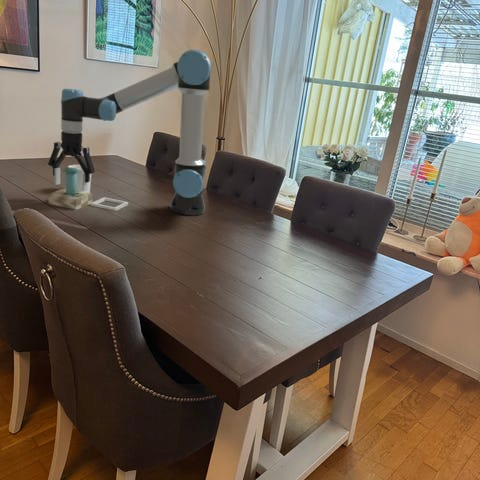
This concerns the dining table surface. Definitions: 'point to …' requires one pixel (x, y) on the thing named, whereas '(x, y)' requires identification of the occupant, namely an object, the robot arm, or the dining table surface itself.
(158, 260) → the dining table surface
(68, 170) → the plug
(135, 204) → the dining table surface
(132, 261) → the dining table surface
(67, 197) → the beige socket block
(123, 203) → the tray
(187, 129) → the robot arm
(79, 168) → the candle holder
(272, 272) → the dining table surface
